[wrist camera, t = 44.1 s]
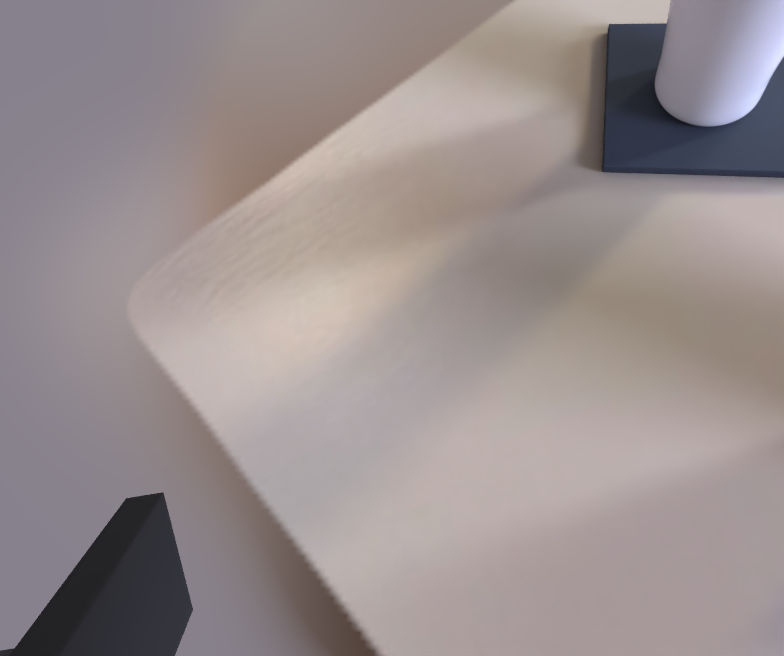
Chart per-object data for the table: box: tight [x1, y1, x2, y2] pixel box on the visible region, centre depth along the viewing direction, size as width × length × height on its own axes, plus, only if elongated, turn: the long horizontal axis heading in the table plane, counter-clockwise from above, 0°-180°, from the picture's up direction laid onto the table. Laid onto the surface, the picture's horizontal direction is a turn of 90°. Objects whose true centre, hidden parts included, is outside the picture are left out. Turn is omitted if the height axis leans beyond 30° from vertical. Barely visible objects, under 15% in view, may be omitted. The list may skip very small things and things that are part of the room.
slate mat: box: [602, 24, 784, 177], centre depth 36 cm, size 10×10×1 cm
